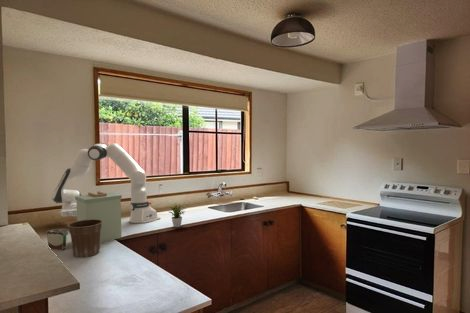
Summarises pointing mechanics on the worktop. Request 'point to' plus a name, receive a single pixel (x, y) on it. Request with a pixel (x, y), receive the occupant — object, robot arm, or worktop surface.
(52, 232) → the food container
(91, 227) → the plant pot
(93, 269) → the worktop surface
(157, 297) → the worktop surface
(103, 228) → the toolbox
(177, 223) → the house plant
